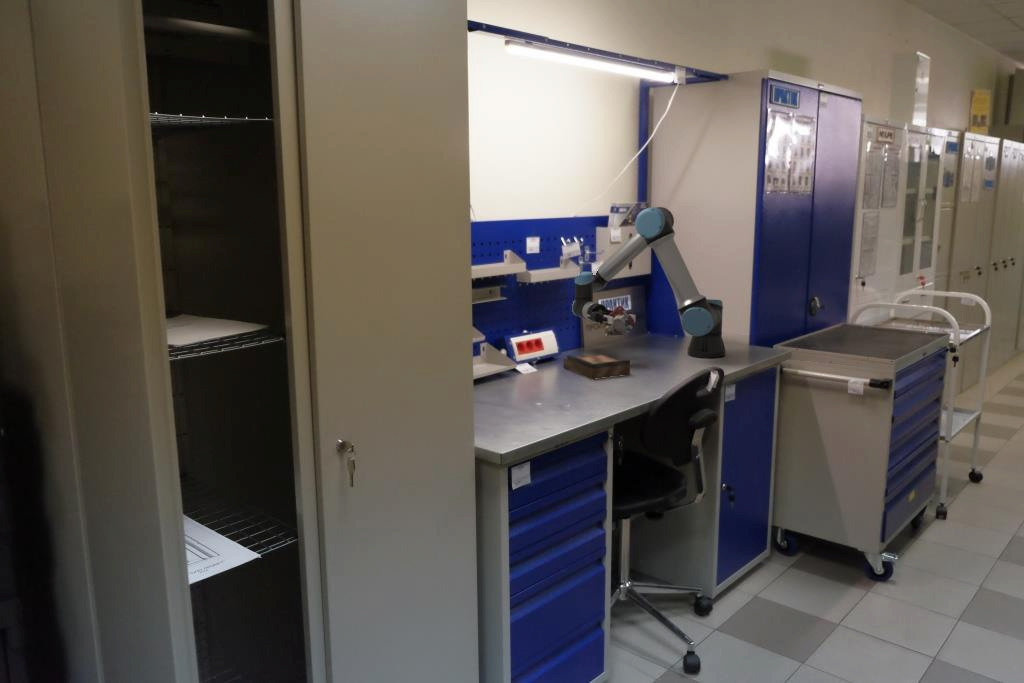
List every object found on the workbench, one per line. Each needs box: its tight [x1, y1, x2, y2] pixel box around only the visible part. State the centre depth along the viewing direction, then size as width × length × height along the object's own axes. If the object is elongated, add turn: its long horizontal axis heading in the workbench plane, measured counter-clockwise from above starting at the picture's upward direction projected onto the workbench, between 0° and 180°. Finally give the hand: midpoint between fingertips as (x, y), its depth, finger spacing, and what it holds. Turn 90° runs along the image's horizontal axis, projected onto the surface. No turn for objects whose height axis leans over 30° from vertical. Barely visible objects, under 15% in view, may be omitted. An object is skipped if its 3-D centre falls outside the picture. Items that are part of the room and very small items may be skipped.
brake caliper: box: [604, 304, 635, 337], centre depth 287 cm, size 11×11×12 cm
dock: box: [563, 353, 631, 380], centre depth 281 cm, size 16×22×6 cm
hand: (623, 319), depth 285 cm, fingers closed on brake caliper, 9 cm apart
